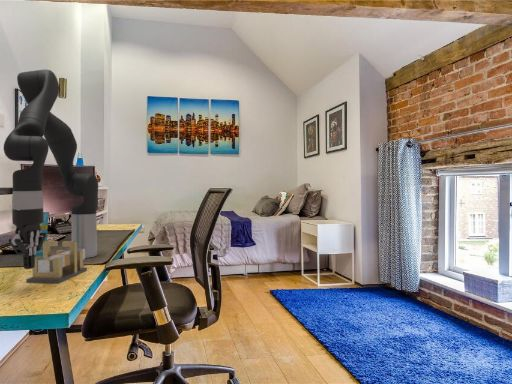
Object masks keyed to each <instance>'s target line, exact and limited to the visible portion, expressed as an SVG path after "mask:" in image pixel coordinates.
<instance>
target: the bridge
mask: <svg viewBox="0 0 512 384" xmlns="http://www.w3.org/2000/svg"><path fill="white" fill-rule="evenodd" d="M61 244H62V245H61V246H62V248H63V247H64V248H65V247H66V248H67V247H68V248H69V250H70V273H76V272H77V241H72V240H64V241H62V243H61ZM58 245H59V241H58V240H47V241H44V242H43V259H44V258H47V257H50V256H51V247H58Z"/></svg>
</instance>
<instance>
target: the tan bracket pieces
mask: <svg viewBox="0 0 512 384" xmlns="http://www.w3.org/2000/svg"><path fill="white" fill-rule="evenodd" d="M63 252H65V249H59V250H56V254H59V253H63ZM56 254H55V255H56ZM38 260H41V257H35V267H34V268H32V277H33V278H54V279H59V278H61V277H62V269H70V265H68V266H65V267H63V268H62V257H57V258H54V271H52V272H50V273H49V272H38ZM82 268H84V259H83V250H78V251H77V269H82Z"/></svg>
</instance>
